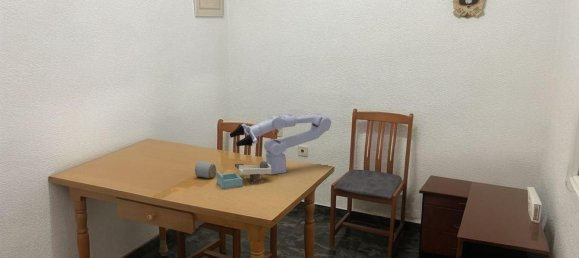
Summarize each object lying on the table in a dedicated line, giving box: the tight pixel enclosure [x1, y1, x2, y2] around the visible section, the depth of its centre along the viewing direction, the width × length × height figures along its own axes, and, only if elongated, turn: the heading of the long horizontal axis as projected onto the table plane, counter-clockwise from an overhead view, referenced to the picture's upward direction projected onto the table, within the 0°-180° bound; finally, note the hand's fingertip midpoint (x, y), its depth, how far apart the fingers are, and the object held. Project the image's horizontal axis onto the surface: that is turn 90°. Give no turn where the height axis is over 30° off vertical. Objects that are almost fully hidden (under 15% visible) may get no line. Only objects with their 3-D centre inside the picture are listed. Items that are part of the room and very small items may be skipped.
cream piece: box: [234, 163, 272, 176], centre depth 235 cm, size 14×14×4 cm
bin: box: [215, 170, 244, 190], centre depth 227 cm, size 10×9×6 cm
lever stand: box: [245, 174, 265, 185], centre depth 233 cm, size 6×8×4 cm
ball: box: [258, 160, 268, 168], centre depth 233 cm, size 4×4×4 cm
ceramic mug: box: [194, 160, 217, 179], centre depth 239 cm, size 11×8×8 cm
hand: (233, 140), depth 233 cm, fingers open, 7 cm apart
